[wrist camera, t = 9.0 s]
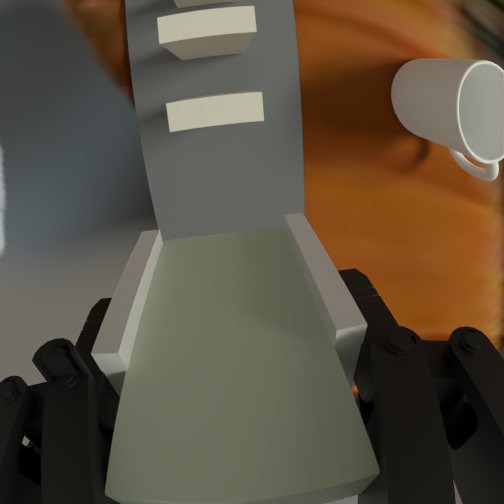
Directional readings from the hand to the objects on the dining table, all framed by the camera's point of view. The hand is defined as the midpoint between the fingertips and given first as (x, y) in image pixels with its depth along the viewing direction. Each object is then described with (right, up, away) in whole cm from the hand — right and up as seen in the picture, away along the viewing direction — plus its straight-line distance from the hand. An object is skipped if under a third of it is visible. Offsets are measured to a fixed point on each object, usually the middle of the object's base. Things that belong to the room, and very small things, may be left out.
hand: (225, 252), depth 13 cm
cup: (+19, +14, +13) cm, 27 cm away
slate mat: (-2, +15, +10) cm, 18 cm away
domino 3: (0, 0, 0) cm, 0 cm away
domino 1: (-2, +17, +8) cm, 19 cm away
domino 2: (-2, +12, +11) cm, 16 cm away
